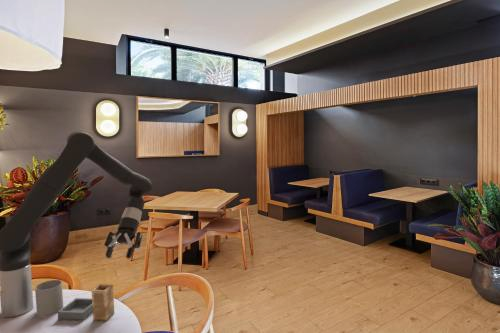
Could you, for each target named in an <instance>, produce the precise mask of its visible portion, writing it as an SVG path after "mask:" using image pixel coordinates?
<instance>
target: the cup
mask: <svg viewBox="0 0 500 333" xmlns="http://www.w3.org/2000/svg"><path fill="white" fill-rule="evenodd" d="M34 289H35V290H34V292H35V305H36V316H38V317H40V318H41V317H42V318H43V317H49V316H53V315H55V314H58V311H60V310H61V309H62V308H63V307H64V294H63V282H62V280H60V279H52V280H45V281H43V282H41V283H39V284H37V285H36V286H35V287H34Z"/></svg>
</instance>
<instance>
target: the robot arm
mask: <svg viewBox="0 0 500 333" xmlns="http://www.w3.org/2000/svg"><path fill="white" fill-rule="evenodd" d="M85 159H88V160H89V161H91V162H93V163H95V164H96V165H97V166H99V168H101V169H102V170H103V171H105V172H106V173H107V174H108V175H110V176H111V177H112V178H113V179H115V180H116V181H118V182H119V183H120V184H122V185H125V186H127V185H129V186H130V188H129V191H128V199H127V200H128V201H127V203H126V206H125V209H124V211H123V213H122V215H121V219H120V221H119V224H118V226H117V231H116V232H112V231H110V232H108V234H107V237H106V240H105V242H104V246H105V247H106V248H107V250H106V253H105V258H107V259H112V258H111V257H112V254H113V251H114V249H115V248H116V247H118V246H119V245H123V244H124V245H128V248H127V252H126V255H125V258H126V259H129V260H130V259H131V258H132V256H133V255H134V251H135V249H140V247H141V244H142V238H143V234H142V233H141V232H140V231H138V228H139V224H140V222H141V220H142V219H141V218H142V214H143V210H144V207H145V200H144V199H143V196H145V195H148V194H149V193H151V192H152V191H153V186H154V185H153V182H152V181H151V180H150V179H149V178H148V177H145V176H144V175H142V174H140V173H137V172H134V171H133V170H132V169H131V168H129V167H128V166H126V165H125V164H124V163H122V162H121V161H119V160H118V159H116V158H115V157H113V156H112V155H110V154H108V153H107V152H106V151H104V150H103V149H102V148H101V147H100V146H99V145H98V144H97V143H95V140H94V138H93V137H92V135H90V134H89V133H87V132H85V131H73V132H72V133H70V134H69V135H68V136H67V139H66V145H65V147H63V150H62V151H61V153H60V155H59V156H58V158H57V159H56V160H55V161H54V162H53V163H52V164H51V165H50V166H49V167H48V168H46V169H45V170H44V172H43V173H42V174H41V175H39V177H38V179H36V181H35V183H34V184H33V185H32V186H31V188H30V189H29V191H28V192H27V194H26V195H25V197H24V199H23V200H22V202H21V204H20V205H19V207H18V209H17V211H16V212H15V213H14V214H13V216H12V217H11V218H10V219H9V220H8V221H7V223H6V224H4V226H3V227H2V228H1V229H0V312H1V318H2V319H3V318H13V317H14V318H15V317H17V316H20V315H21V316H22V315H24V314H26V313H28V312H30V311H31V310H32V309H33V308H34V296H33V281H32V269H31V255H32V249H31V246H32V245H31V231H32V230H33V228H34V227H35V225H36V223H37V222H38V220H39V219H41V217H42V216H43V215H44V214H45V213H46V212H47V211H48V210H49V209H50V207H51V206H53V205H54V203H55V201H56V200H57V199H58V198H59V196H60V195H61V194H62V192H63V191H64V190H65V188H66V186H67V185H68V183H69V182H70V180H71V178H72V176H73V175H74V173H75V172H76V170H77V168H78V167H79V166H80V165H81V164H82V163H83V162H84V160H85ZM137 231H138V232H137ZM134 239H135V240H134ZM133 240H134V241H133Z"/></svg>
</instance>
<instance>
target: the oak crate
mask: <svg viewBox="0 0 500 333" xmlns="http://www.w3.org/2000/svg"><path fill="white" fill-rule="evenodd" d="M91 299H92V306H93V313H92V321H93V322H108V320H110V319H111V317H113V315H115V300H114V299H115V298H114V284H108V283H101V284H98V285H97V286H96V287H95V288H93V289H92V290H91Z"/></svg>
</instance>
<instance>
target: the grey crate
mask: <svg viewBox="0 0 500 333" xmlns="http://www.w3.org/2000/svg"><path fill="white" fill-rule="evenodd" d="M91 315H93V306H92V298H85V297H83V298H81V297H75V298H74V299H73V300H72V301H69V303H68V304H66V305H65V306H63V308H62V309H61V310H60V311H58V313H57V320H58V321H76V322H77V321H79V322H80V321H81V322H84V321H85V320H86V319H87V318H88V317H89V316H91Z"/></svg>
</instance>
